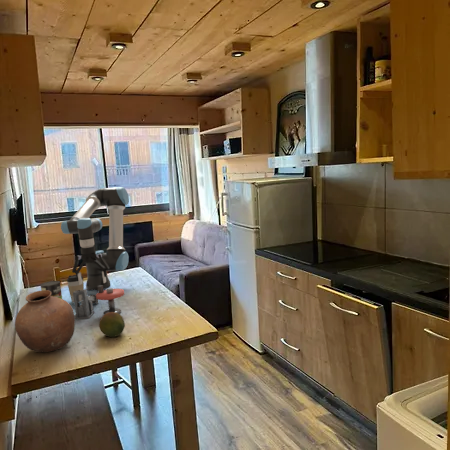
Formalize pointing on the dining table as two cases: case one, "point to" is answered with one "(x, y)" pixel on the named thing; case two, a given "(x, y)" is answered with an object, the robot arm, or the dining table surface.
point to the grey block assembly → (82, 305)
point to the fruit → (112, 324)
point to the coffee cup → (74, 286)
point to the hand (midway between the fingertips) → (92, 283)
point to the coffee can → (52, 288)
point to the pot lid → (108, 293)
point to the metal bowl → (112, 307)
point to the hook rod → (92, 298)
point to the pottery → (45, 322)
